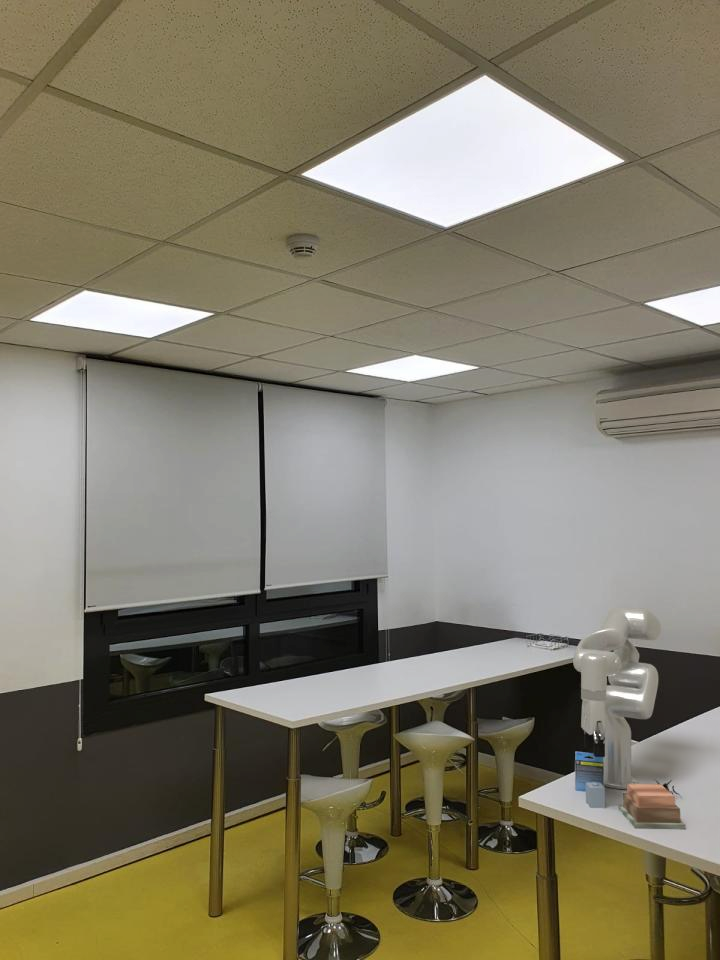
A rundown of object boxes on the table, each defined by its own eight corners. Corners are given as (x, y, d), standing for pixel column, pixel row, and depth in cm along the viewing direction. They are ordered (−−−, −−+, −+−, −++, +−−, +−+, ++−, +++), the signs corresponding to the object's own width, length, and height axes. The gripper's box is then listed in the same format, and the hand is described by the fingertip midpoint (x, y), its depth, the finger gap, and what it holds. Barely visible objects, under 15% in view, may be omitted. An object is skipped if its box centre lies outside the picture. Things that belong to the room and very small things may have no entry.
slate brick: (585, 802, 224) (585, 780, 225) (600, 802, 224) (600, 780, 225) (590, 808, 220) (589, 785, 220) (605, 808, 220) (604, 785, 220)
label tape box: (603, 789, 236) (603, 750, 237) (604, 793, 232) (603, 754, 233) (575, 786, 238) (574, 748, 239) (575, 790, 234) (574, 751, 235)
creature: (685, 805, 226) (673, 790, 234) (687, 789, 225) (675, 775, 233) (660, 805, 225) (649, 790, 233) (662, 789, 225) (651, 775, 232)
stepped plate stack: (618, 809, 219) (618, 781, 220) (665, 810, 219) (665, 782, 219) (635, 828, 205) (634, 798, 206) (685, 829, 205) (684, 799, 205)
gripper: (574, 688, 233) (574, 743, 232) (590, 700, 216) (590, 760, 214) (597, 689, 233) (598, 744, 231) (615, 701, 216) (616, 760, 214)
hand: (594, 752), depth 223 cm, fingers open, 9 cm apart
